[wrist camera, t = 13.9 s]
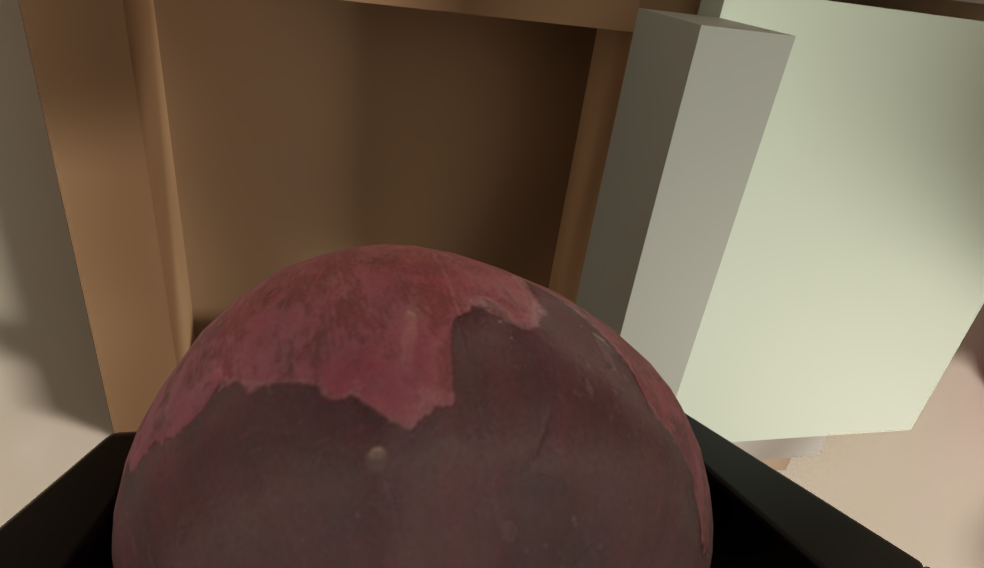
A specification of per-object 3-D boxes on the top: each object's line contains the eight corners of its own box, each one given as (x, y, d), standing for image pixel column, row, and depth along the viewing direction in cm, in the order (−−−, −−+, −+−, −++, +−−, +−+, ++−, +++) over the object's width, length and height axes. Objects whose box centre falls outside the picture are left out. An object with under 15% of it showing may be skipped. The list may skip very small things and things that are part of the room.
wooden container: (157, 454, 18) (124, 550, 15) (22, -289, 10) (-95, -369, 7) (744, 419, 22) (801, 488, 19) (958, -106, 15) (1100, -113, 12)
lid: (534, 433, 16) (570, 525, 14) (627, -27, 11) (711, -13, 9) (890, 412, 19) (974, 485, 17) (1096, 36, 14) (1263, 60, 12)
